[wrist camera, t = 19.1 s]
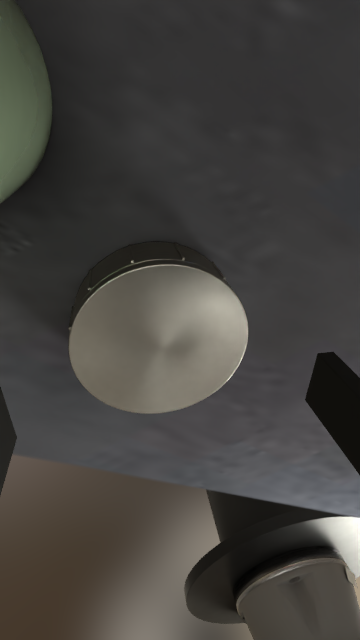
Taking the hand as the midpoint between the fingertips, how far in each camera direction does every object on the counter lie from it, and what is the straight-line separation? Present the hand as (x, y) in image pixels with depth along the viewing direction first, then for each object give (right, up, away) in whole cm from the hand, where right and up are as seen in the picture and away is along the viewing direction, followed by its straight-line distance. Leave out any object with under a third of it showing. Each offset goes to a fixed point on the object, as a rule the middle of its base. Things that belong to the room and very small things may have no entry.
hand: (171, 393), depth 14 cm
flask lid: (-1, +2, +2) cm, 3 cm away
